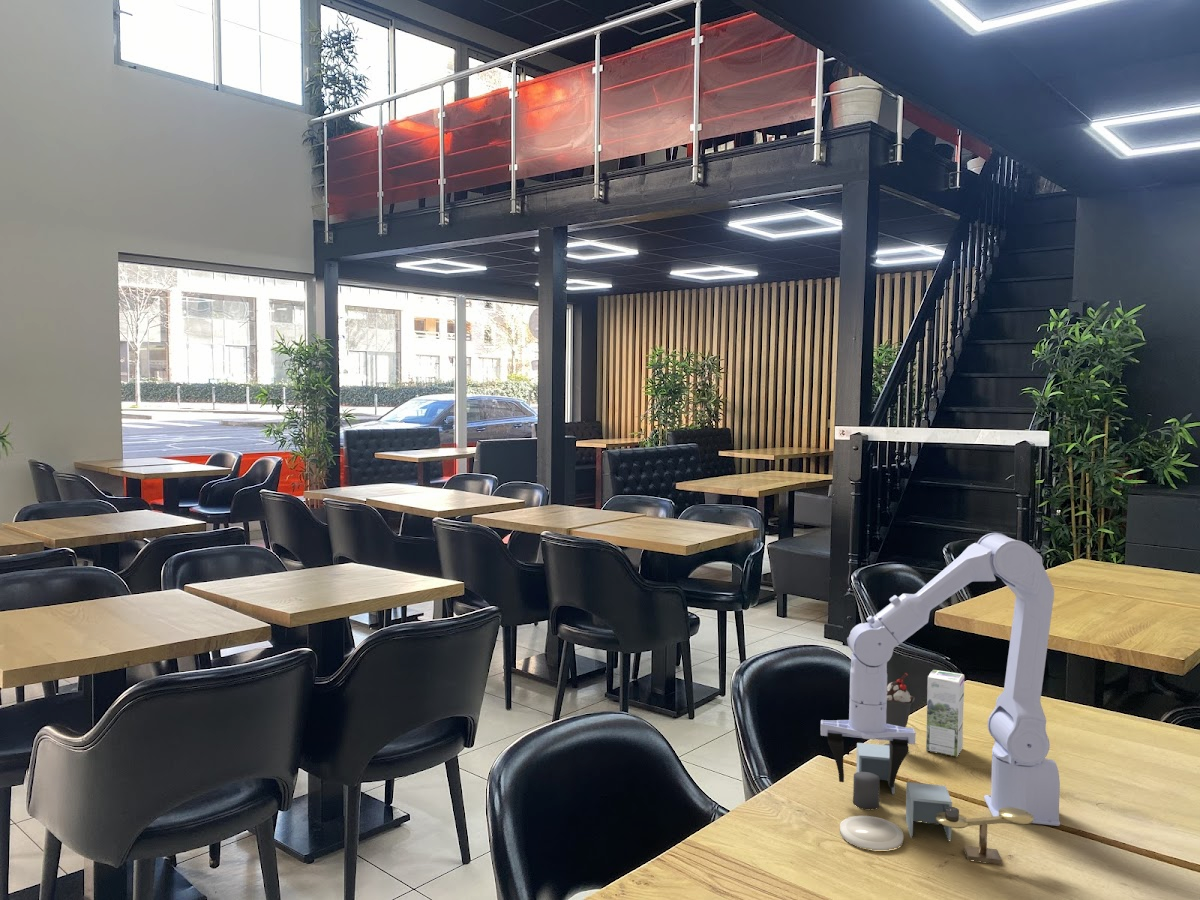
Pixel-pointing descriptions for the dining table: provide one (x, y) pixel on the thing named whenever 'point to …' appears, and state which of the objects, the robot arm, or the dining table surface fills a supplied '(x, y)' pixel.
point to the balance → (983, 829)
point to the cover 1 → (874, 760)
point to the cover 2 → (926, 804)
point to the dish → (871, 833)
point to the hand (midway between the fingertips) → (865, 782)
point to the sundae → (898, 703)
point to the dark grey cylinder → (866, 790)
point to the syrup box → (945, 712)
